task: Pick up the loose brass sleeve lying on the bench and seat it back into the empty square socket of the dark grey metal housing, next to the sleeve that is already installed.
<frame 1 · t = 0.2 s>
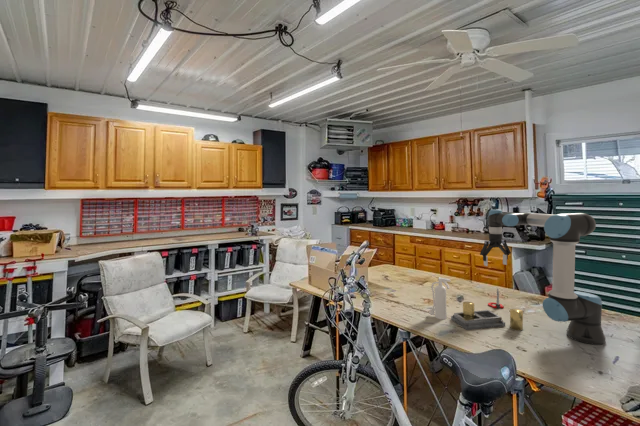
hand: (495, 265, 203), 28 cm above the workbench, fingers open, 13 cm apart
sleeve: (516, 328, 171), on the workbench
tow hook: (495, 306, 205), on the workbench
housing: (477, 322, 180), on the workbench
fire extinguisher: (439, 317, 190), on the workbench
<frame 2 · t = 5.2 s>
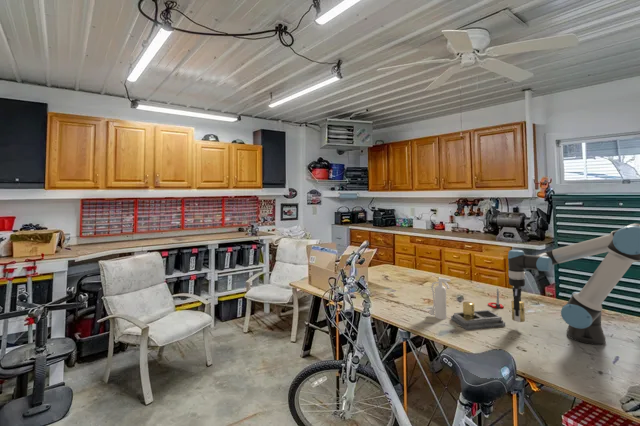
hand: (517, 319, 170), 5 cm above the workbench, fingers closed on sleeve, 6 cm apart
sleeve: (518, 319, 170), point 5 cm above the workbench, touching gripper
everything else where it was.
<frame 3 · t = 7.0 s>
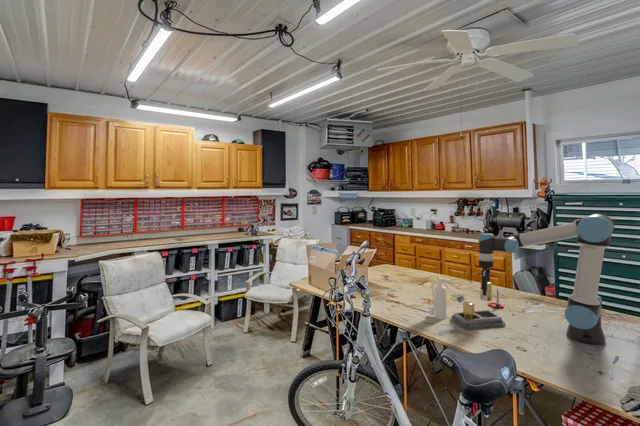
hand: (485, 298, 180), 14 cm above the workbench, fingers closed on sleeve, 6 cm apart
sleeve: (486, 299, 180), point 14 cm above the workbench, touching gripper
everything else where it was.
when the fingers open (5 cm above the workbench, at t = 9.2 s): sleeve drops 2 cm, resting on housing.
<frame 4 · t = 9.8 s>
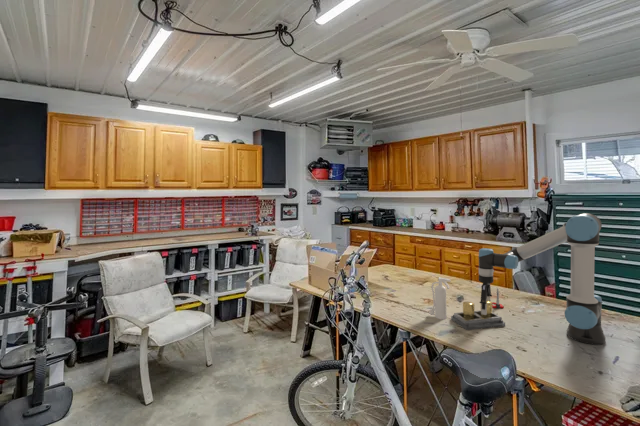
hand: (485, 310, 180), 7 cm above the workbench, fingers open, 13 cm apart
sleeve: (486, 318, 181), point 2 cm above the workbench, touching housing
everything else where it was.
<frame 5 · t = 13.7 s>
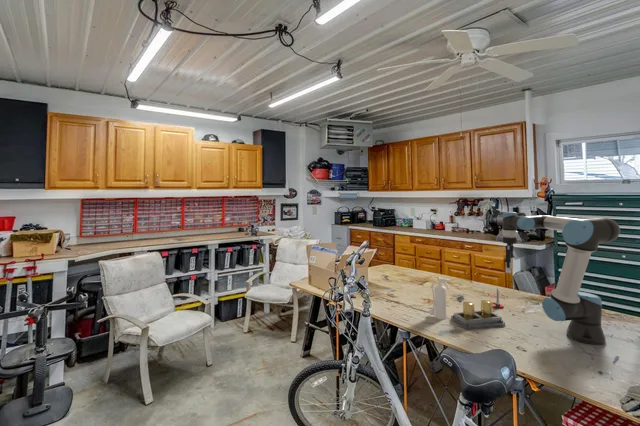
hand: (509, 270, 192), 27 cm above the workbench, fingers open, 13 cm apart
nothing on the workbench moved.
at the end: sleeve 0.1 cm from the target spot on the housing, point 2.1 cm above the housing's base; sleeve tilted 2°; the gripper is holding nothing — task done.
